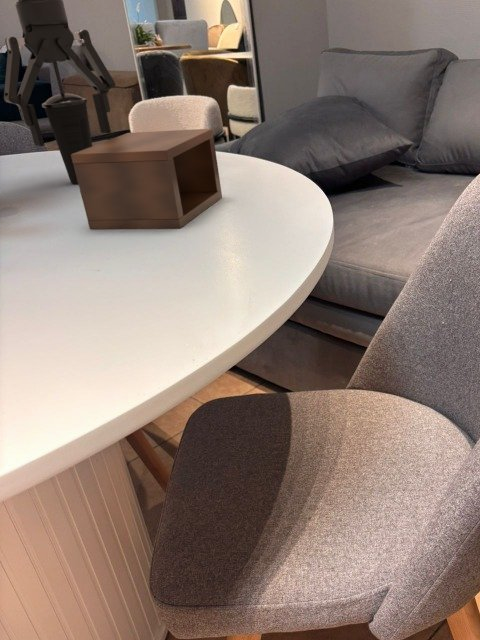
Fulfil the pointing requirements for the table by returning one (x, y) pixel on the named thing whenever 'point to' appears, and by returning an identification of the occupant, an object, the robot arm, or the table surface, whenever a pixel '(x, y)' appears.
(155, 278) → the table surface
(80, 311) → the table surface
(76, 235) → the table surface
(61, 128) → the drinking cup
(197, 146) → the walnut shelf
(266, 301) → the table surface
